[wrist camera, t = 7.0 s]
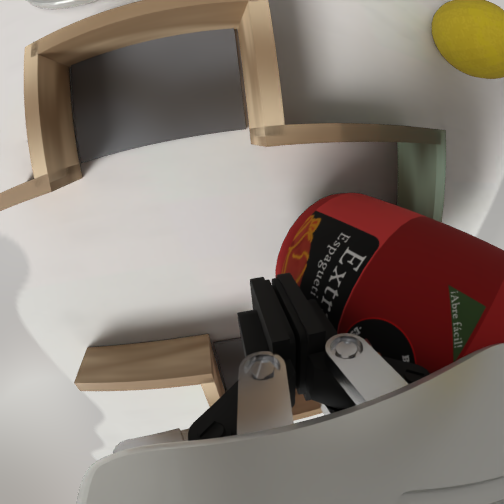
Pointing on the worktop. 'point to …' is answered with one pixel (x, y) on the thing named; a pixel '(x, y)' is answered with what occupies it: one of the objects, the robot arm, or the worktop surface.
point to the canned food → (397, 279)
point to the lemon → (471, 37)
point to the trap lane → (176, 127)
